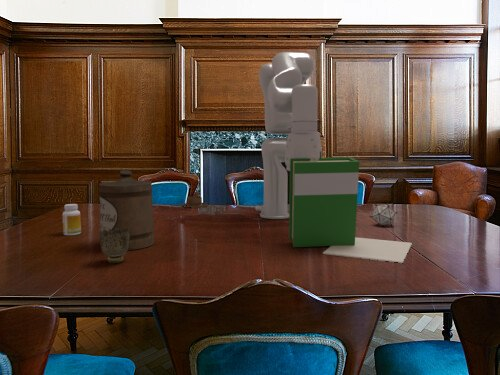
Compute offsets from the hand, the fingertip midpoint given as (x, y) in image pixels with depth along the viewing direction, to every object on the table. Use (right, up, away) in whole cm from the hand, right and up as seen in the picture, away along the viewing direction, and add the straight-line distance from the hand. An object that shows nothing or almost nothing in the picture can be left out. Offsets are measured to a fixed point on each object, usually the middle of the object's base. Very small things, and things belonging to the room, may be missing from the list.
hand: (303, 190), depth 121 cm
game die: (+32, -13, +26) cm, 43 cm away
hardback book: (+5, -15, -2) cm, 16 cm away
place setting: (-41, -8, +78) cm, 88 cm away
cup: (-49, -18, -19) cm, 56 cm away
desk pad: (+17, -16, -7) cm, 25 cm away
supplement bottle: (-74, -14, +14) cm, 77 cm away
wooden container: (-51, -16, -1) cm, 54 cm away
